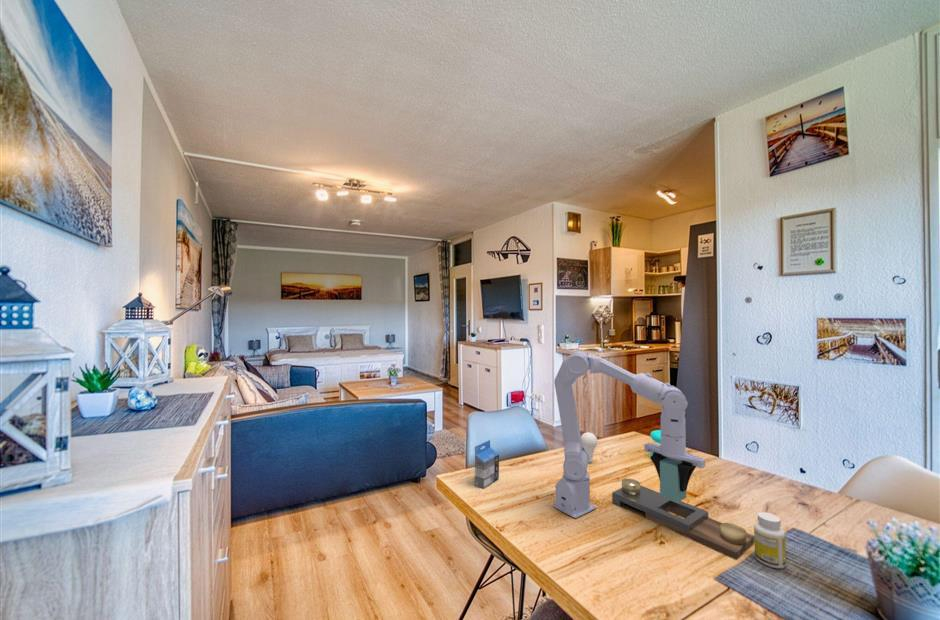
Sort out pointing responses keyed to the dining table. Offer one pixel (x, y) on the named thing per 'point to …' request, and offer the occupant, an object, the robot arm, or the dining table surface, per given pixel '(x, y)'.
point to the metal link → (657, 504)
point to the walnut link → (712, 534)
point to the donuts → (656, 437)
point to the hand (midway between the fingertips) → (673, 486)
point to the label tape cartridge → (486, 465)
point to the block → (670, 480)
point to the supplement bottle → (769, 541)
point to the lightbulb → (589, 444)
